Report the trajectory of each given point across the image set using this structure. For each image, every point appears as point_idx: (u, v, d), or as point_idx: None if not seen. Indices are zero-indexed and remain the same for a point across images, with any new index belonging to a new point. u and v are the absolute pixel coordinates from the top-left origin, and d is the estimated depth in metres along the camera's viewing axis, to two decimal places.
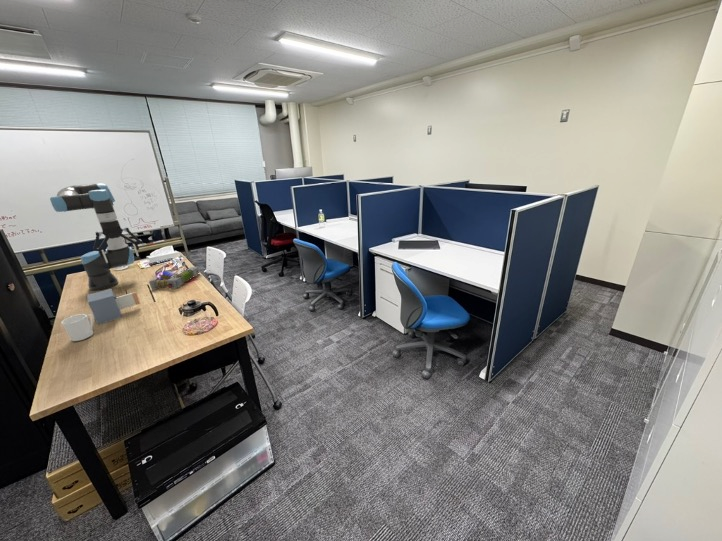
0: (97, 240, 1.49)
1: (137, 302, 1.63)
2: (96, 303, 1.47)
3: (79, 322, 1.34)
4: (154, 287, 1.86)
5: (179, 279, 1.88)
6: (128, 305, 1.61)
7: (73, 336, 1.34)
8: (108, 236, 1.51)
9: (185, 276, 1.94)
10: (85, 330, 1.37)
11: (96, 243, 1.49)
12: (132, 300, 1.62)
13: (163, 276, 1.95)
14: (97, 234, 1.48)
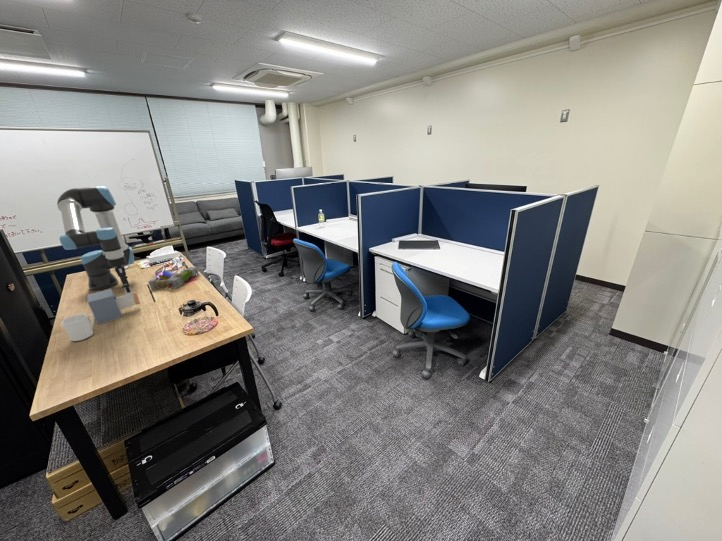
0: None
1: (137, 302, 1.63)
2: (96, 303, 1.47)
3: (79, 322, 1.34)
4: (154, 287, 1.86)
5: (179, 279, 1.89)
6: (128, 305, 1.61)
7: (73, 336, 1.34)
8: None
9: (184, 276, 1.95)
10: (85, 330, 1.37)
11: None
12: (132, 300, 1.62)
13: (162, 276, 1.95)
14: None
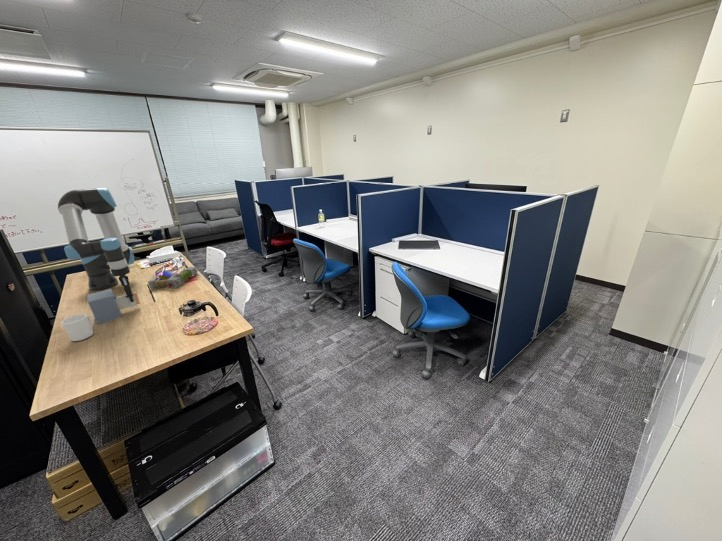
0: None
1: (137, 302, 1.63)
2: (96, 303, 1.47)
3: (79, 322, 1.34)
4: (153, 287, 1.86)
5: (179, 279, 1.89)
6: (128, 305, 1.61)
7: (73, 336, 1.34)
8: None
9: (184, 276, 1.95)
10: (85, 330, 1.37)
11: None
12: None
13: (161, 276, 1.95)
14: None
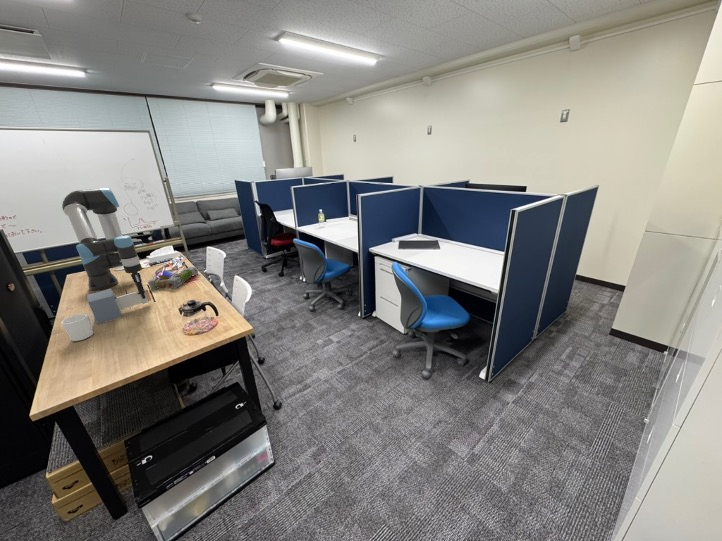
0: None
1: (148, 299, 1.67)
2: (96, 303, 1.47)
3: (79, 322, 1.34)
4: (153, 287, 1.86)
5: (179, 279, 1.89)
6: (140, 302, 1.64)
7: (73, 336, 1.34)
8: None
9: (184, 276, 1.95)
10: (85, 330, 1.37)
11: None
12: None
13: (162, 276, 1.95)
14: None
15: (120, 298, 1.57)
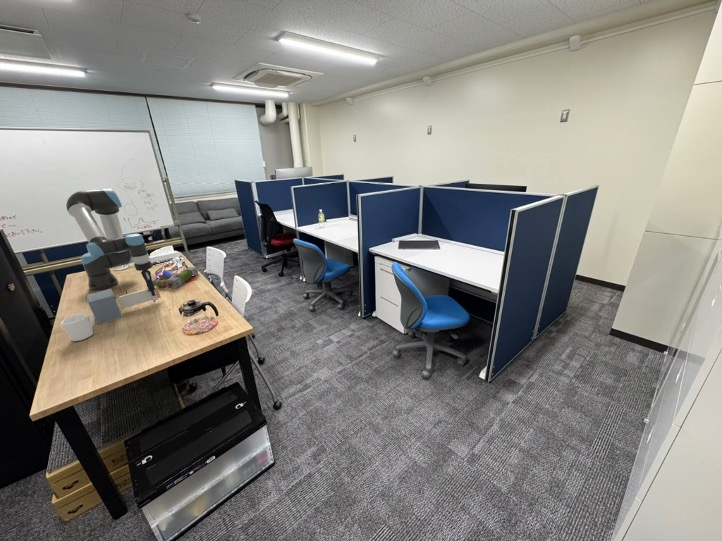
0: None
1: (158, 296, 1.69)
2: (96, 303, 1.47)
3: (79, 322, 1.34)
4: None
5: (179, 279, 1.89)
6: (150, 299, 1.67)
7: (73, 336, 1.34)
8: None
9: (184, 276, 1.95)
10: (85, 330, 1.37)
11: (145, 280, 1.67)
12: None
13: (162, 276, 1.95)
14: None
15: (131, 295, 1.60)
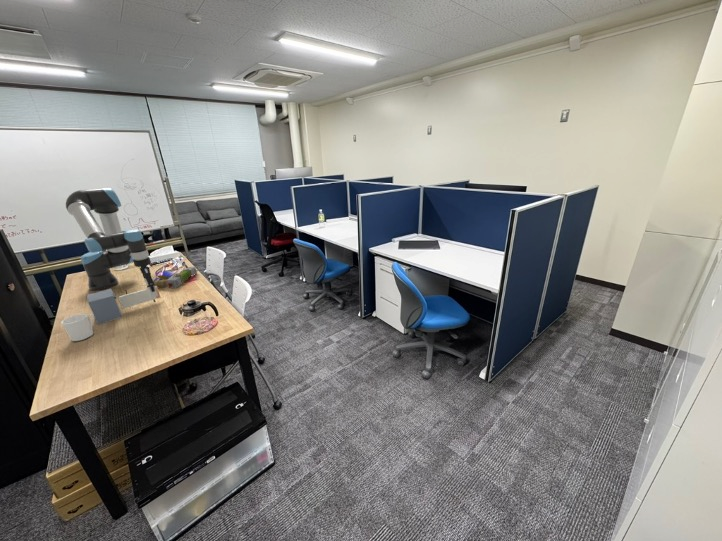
0: None
1: (158, 296, 1.69)
2: (96, 303, 1.47)
3: (79, 322, 1.34)
4: None
5: (179, 279, 1.89)
6: (149, 299, 1.67)
7: (73, 336, 1.34)
8: None
9: (184, 276, 1.95)
10: (85, 330, 1.37)
11: None
12: None
13: (161, 276, 1.95)
14: None
15: (130, 295, 1.60)
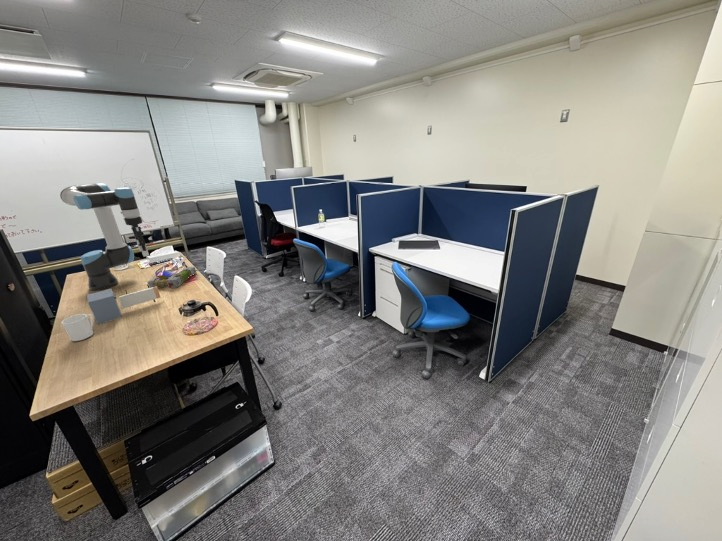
0: None
1: (158, 296, 1.69)
2: (96, 303, 1.47)
3: (79, 322, 1.34)
4: None
5: (179, 278, 1.89)
6: (149, 299, 1.67)
7: (73, 336, 1.34)
8: None
9: (184, 275, 1.95)
10: (85, 330, 1.37)
11: None
12: (154, 294, 1.68)
13: (160, 276, 1.94)
14: (131, 225, 1.65)
15: (130, 295, 1.60)
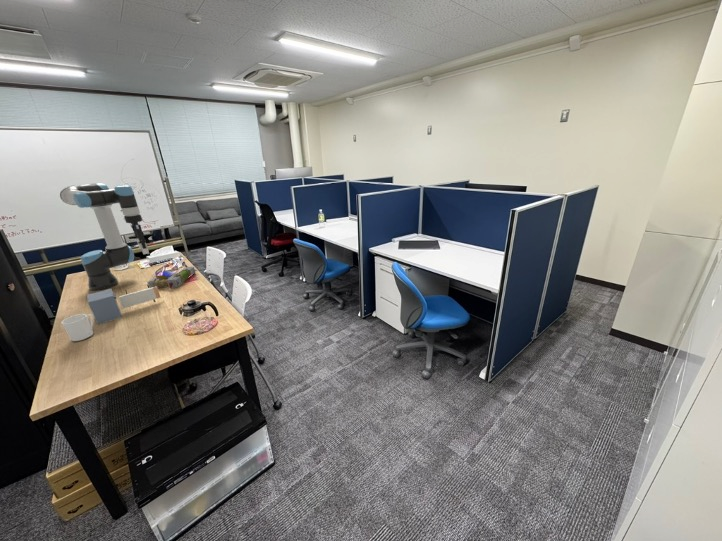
0: None
1: (158, 296, 1.69)
2: (96, 303, 1.47)
3: (79, 322, 1.34)
4: None
5: (179, 278, 1.90)
6: (149, 299, 1.67)
7: (73, 336, 1.34)
8: None
9: (184, 275, 1.96)
10: (85, 330, 1.37)
11: None
12: (154, 294, 1.68)
13: (160, 277, 1.94)
14: (131, 223, 1.65)
15: (130, 295, 1.60)
